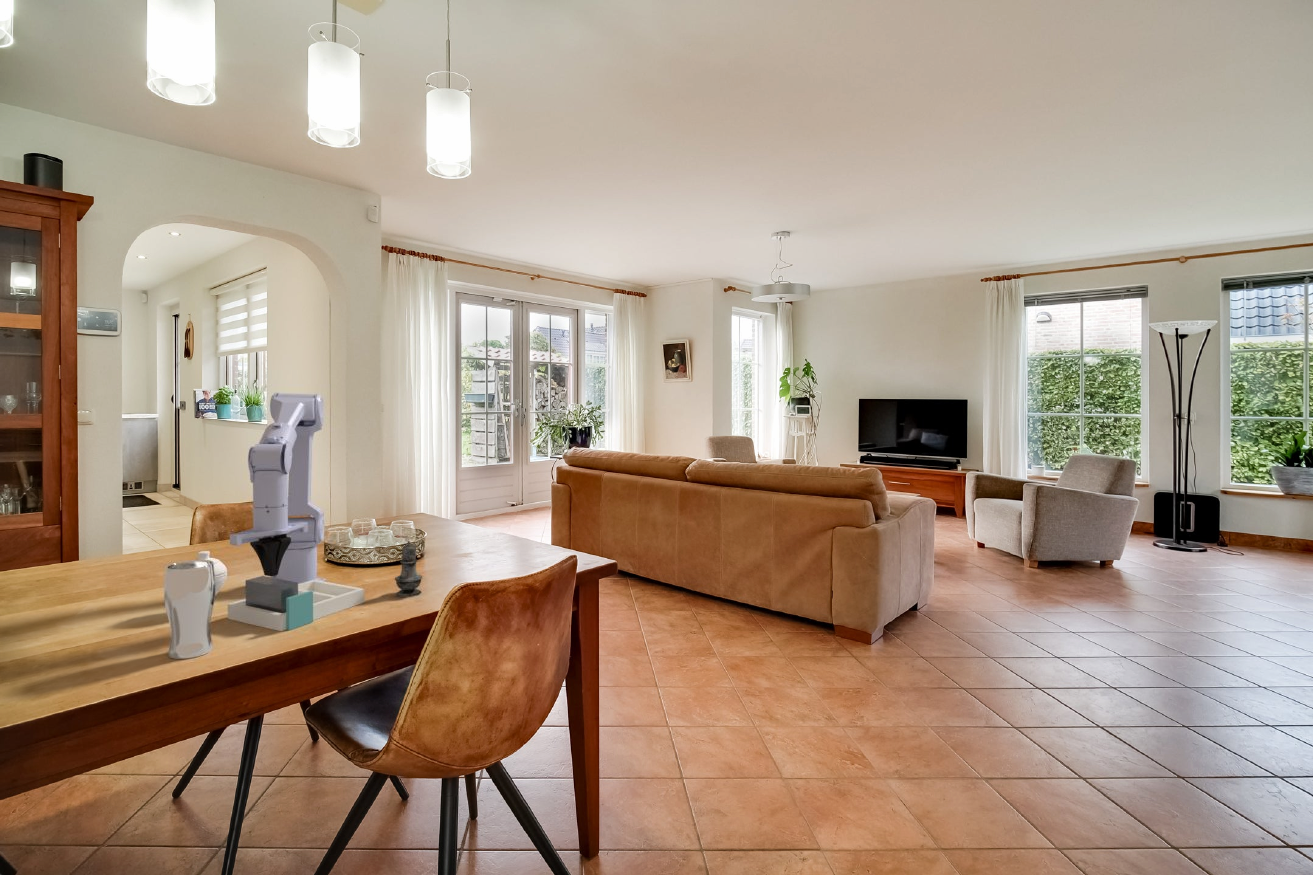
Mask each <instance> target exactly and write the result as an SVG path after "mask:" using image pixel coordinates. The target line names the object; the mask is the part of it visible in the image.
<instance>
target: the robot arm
mask: <svg viewBox="0 0 1313 875" xmlns="http://www.w3.org/2000/svg"><path fill="white" fill-rule="evenodd" d="M269 401H270V402H269V412H270V415H271V416H270V417H271V418H272V419H273V421H274V422H273V423H270V424H269V425H267V426H266V428H265V429H264V432H263V434H262V436H261V439H259V442H258V443H256V444H255V445H254V446H250V448H249V450H248V454H247V466H248V467H247V468H248V470H249V480H250V483H251V484H252V516H253V517H252V520H253V521H252V522H253V523H252V528H250V529H246V530H243V531H241V532H236V533H232V534H229V545H230V546H235V547H239V546H242V545H243V544H249V543H250V544H249V545H250V546H251V548H252V549H253V551H254V552H255V554H256V555H257V557H258V560H259V562H260V564H261V567H262V568H261V569H262V571H263V576H266V577H271V578H276V579H282V580H287V581H292V582H297V583H298V584H300V583H304V582H308V581H311V580H319V581H324V582H327V579H326V578H323V577H322V578H321V577H318V559H317V558H318V544H321V543H322V542H323V541H324V538H325V529H326V528H325V527H326V526H325V519H324V512H323V510H322V508H320V507H319V506H316V505H315V504H313V503H312V501H311V500H312V498H311V497H312V496H311V495H312V493H311V492H312V464H313V459H312V458H313V440H314V436H315V433H316V432H319V431H321V430H322V429H323V425H324V399H323V397H322V395H321V394H320V393H315V394H314V393H313V394H312V393H280V392H274V393H273V395H271V396H270V400H269ZM288 516H289V517H288ZM290 516H291V517H290ZM293 516H298V517H293ZM299 516H302V517H299ZM306 516H307V517H306ZM308 516H309V517H308Z"/></svg>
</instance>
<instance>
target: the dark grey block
mask: <svg viewBox="0 0 1313 875" xmlns="http://www.w3.org/2000/svg"><path fill="white" fill-rule="evenodd" d="M295 595H298V583H297V582H292V581H287V580H282V579H276V578H271V576H266V575H261V576H260V575H259V576H257V577H253V578H248V579H246V580H245V599H246V606H250V607H255V608H260V609H264V610H269V611H273V612H278V613H282V614H283V613H286V598H288V597H291V596H295Z"/></svg>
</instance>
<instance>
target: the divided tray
mask: <svg viewBox="0 0 1313 875" xmlns="http://www.w3.org/2000/svg"><path fill="white" fill-rule="evenodd" d="M365 592H366V591H365V588H361V587H356V586H351V585H344V584H340V583H334V582H328V581H325V582H324V581H319V580H311V581H308V582H304V583H300V584H298V595H295V596H291V597H288V598H286V613H283V614H282V613H278V612H273V611H269V610H264V609H260V608H255V607H250V606H246V598H243V599H241V600H237V601H234V602H230V603H227V619H228V620H232V621H236V622H239V623H240V622H241V623H245V624H248V625H249V624H250V625H251V626H252V625H253V626H258V627H260V628H266V629H269V630H274V631H279V632H283V631H286V630H287V631H292V630H295V629H297V628H300V627H303V626H305V625H310V624H312V623H314V621H315V620H318V619H320V618H324V617H326V616H327V617H328V616H329V615H333V614H336V613H338V612H341V611H345V610H347V609H349V608H352V607H355V606H358V605H360V604H364V603H365V598H366V597H365Z"/></svg>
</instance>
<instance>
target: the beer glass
mask: <svg viewBox="0 0 1313 875" xmlns="http://www.w3.org/2000/svg"><path fill="white" fill-rule="evenodd" d="M164 569H165V571H164V581H163V582H164V584H163V598H164V605H165V606H164V607H165V611H166V615H167V619H168V623H169V628H170V643H169V648H168V655H167V657H168V658H169V659H173V660H186V659H193V658H197V657H200V656H203V655H206V654H208V653H210V652H212V650H213V649H214V644H213V639H212V635H211V622H212V621H211V620H212V617H213V610H214V605H215V598H216V596H215V588H216V585H215V572H214V562H213V561H210V560H196V559H192V560H183V561H179V562H178V561H177V562H173V563H171V564H168V565H166V566H165V567H164Z"/></svg>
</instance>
